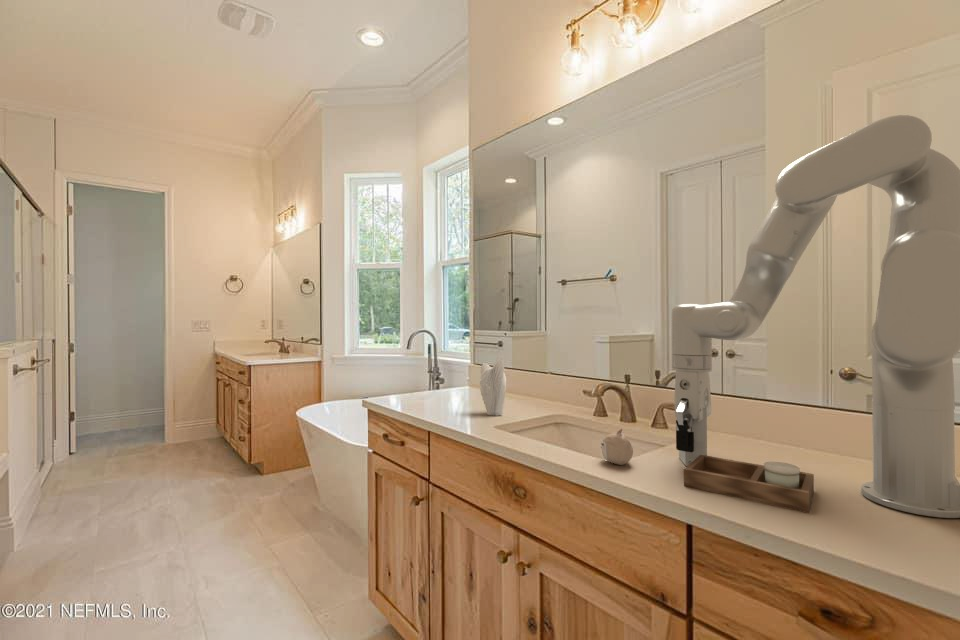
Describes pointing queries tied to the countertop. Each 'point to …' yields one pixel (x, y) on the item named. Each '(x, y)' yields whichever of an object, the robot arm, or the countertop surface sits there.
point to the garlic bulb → (617, 448)
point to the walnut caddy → (747, 482)
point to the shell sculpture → (493, 387)
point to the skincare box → (696, 440)
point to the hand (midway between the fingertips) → (691, 445)
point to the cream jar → (782, 474)
